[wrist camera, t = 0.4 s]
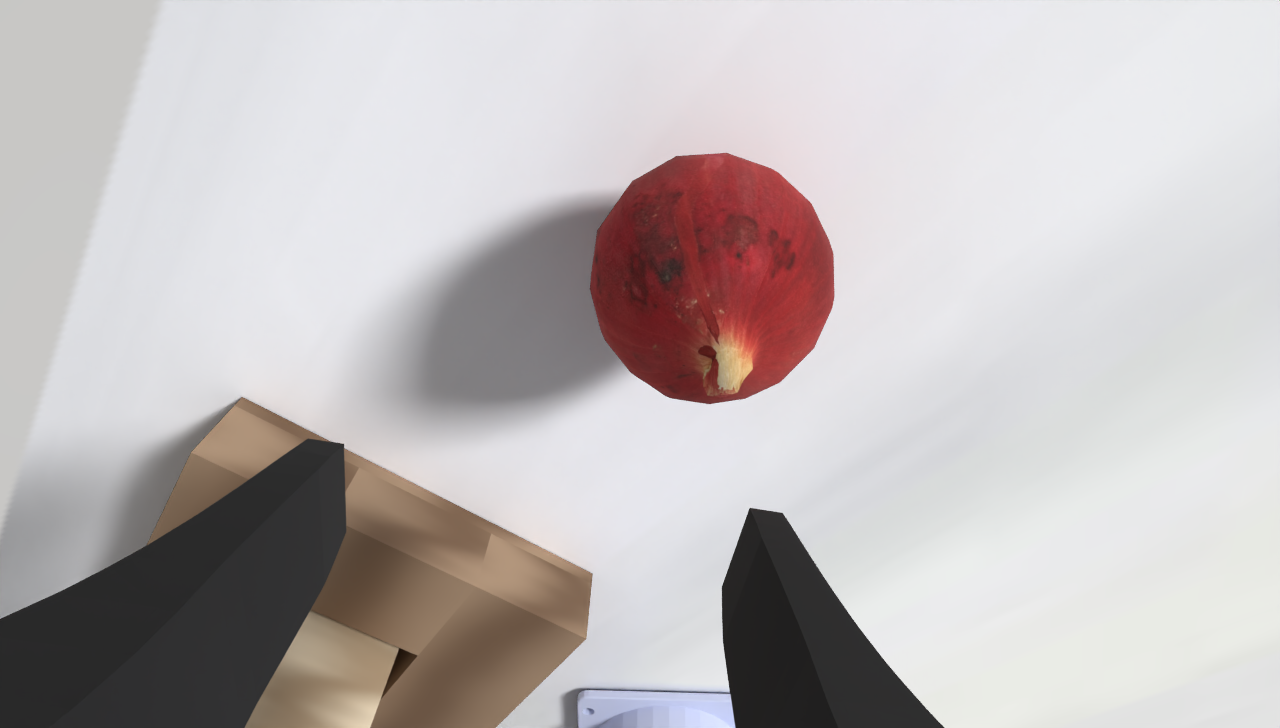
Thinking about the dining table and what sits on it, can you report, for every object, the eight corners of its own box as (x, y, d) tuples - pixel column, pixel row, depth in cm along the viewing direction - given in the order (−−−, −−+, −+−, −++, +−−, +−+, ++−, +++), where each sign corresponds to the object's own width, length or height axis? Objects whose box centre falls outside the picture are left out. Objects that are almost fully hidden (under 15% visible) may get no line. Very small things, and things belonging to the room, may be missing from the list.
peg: (415, 603, 28) (336, 819, 21) (373, 656, 29) (287, 873, 22) (319, 559, 26) (201, 773, 20) (281, 617, 28) (160, 833, 21)
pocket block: (592, 573, 27) (586, 638, 25) (430, 743, 33) (411, 810, 31) (242, 396, 23) (190, 452, 21) (128, 625, 29) (77, 690, 27)
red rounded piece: (561, 193, 20) (512, 322, 13) (744, 80, 18) (800, 157, 11) (665, 348, 22) (671, 526, 15) (834, 261, 21) (926, 415, 14)
